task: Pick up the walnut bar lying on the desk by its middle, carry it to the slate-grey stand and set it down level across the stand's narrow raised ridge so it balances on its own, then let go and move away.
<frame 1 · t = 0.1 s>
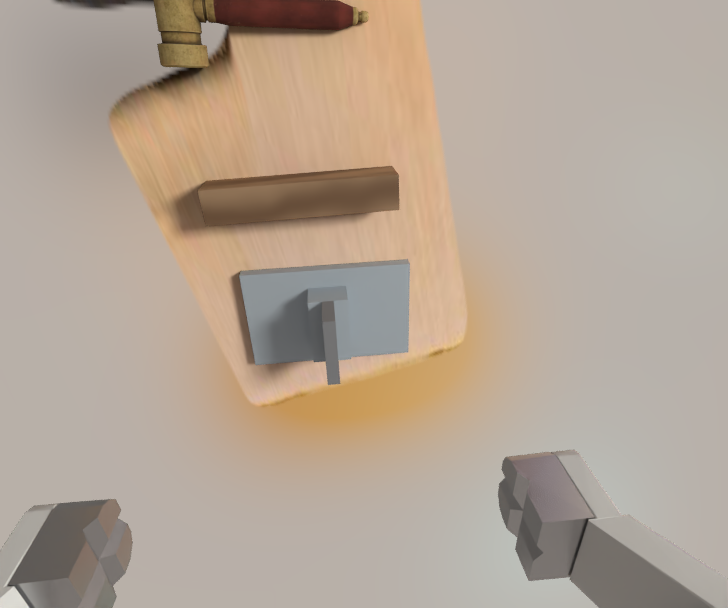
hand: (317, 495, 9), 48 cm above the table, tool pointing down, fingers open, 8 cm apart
ridge stand: (329, 311, 62), on the table
gavel: (266, 14, 46), on the table
bar: (302, 189, 54), on the table
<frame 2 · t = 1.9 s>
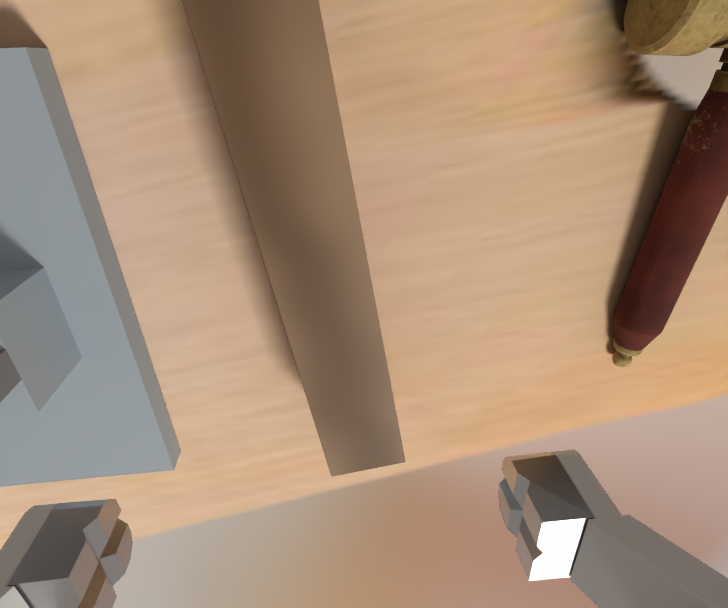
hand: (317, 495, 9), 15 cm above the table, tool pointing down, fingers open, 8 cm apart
gavel: (664, 187, 23), on the table
bar: (322, 244, 23), on the table
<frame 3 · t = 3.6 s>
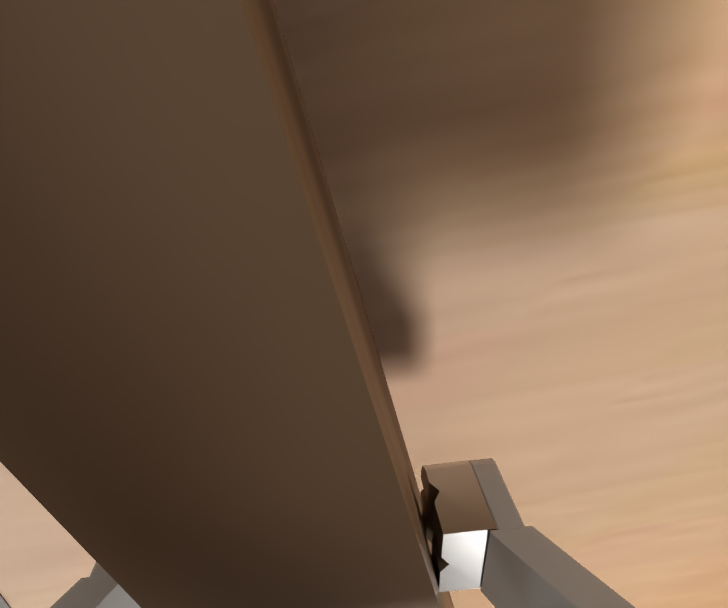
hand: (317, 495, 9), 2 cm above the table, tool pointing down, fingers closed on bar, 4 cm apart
bar: (316, 419, 11), on the table, touching gripper
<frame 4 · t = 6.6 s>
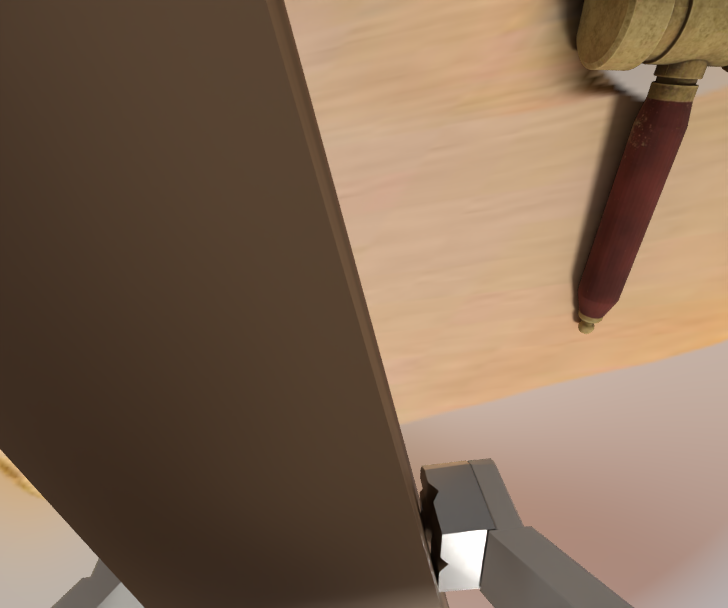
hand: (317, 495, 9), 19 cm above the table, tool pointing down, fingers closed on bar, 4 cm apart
gavel: (617, 178, 28), on the table
bar: (317, 420, 11), point 17 cm above the table, touching gripper
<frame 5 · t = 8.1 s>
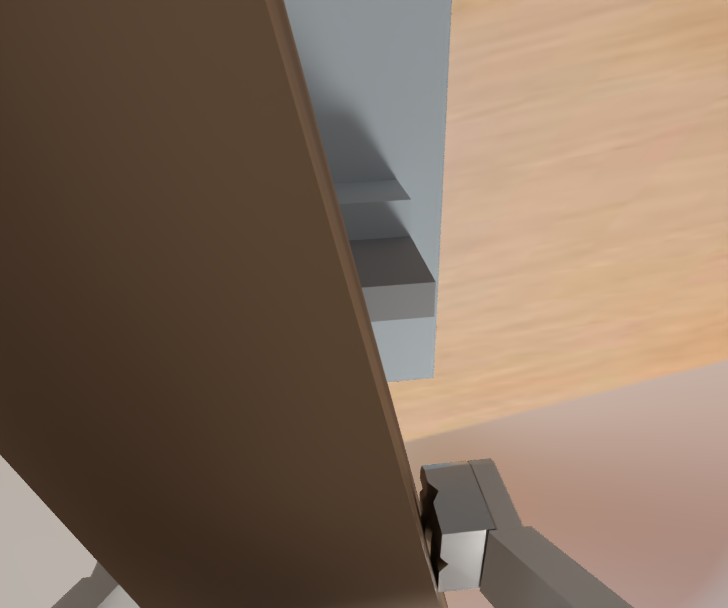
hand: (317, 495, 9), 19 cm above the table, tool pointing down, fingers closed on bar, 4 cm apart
ridge stand: (316, 221, 26), on the table
bar: (316, 420, 11), point 16 cm above the table, touching gripper
when the fingers open (14 cm above the table, at t = 9.5 s): bar stays where it is, resting on ridge stand.
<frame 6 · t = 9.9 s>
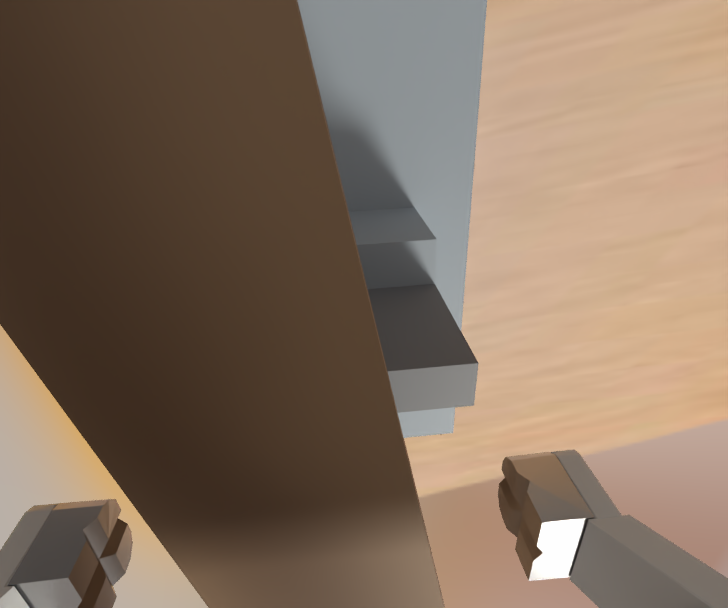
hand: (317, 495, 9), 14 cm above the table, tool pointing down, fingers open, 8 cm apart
ridge stand: (315, 255, 21), on the table
bar: (318, 397, 12), point 10 cm above the table, touching ridge stand
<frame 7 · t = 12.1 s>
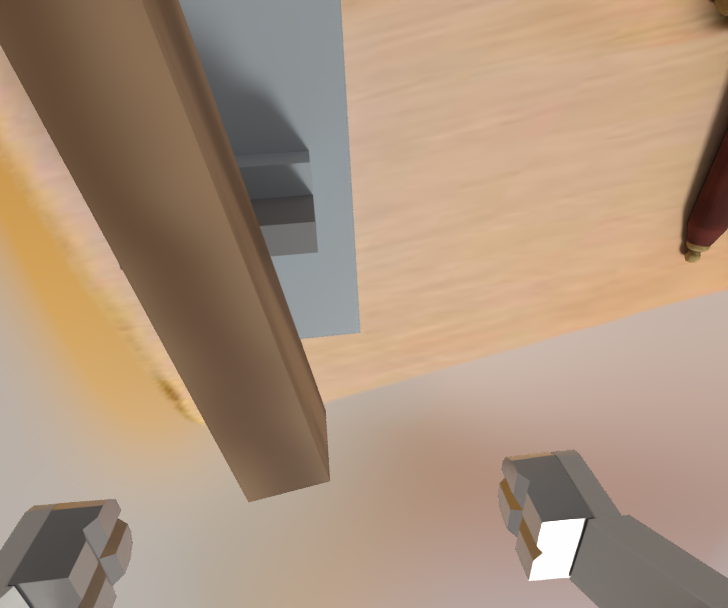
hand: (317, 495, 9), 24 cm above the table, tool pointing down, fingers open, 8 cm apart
ridge stand: (244, 190, 30), on the table
bar: (219, 244, 20), point 10 cm above the table, touching ridge stand
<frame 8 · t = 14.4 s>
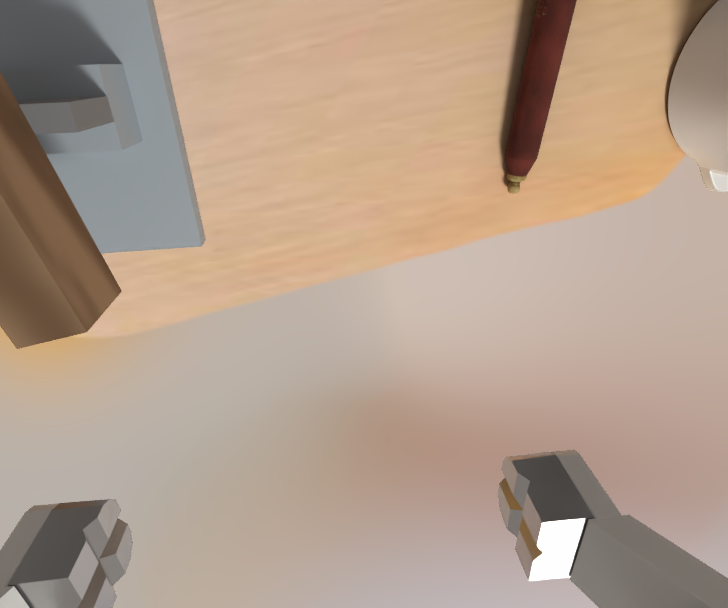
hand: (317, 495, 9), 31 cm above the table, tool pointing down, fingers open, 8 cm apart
ridge stand: (77, 105, 33), on the table
gavel: (533, 55, 35), on the table
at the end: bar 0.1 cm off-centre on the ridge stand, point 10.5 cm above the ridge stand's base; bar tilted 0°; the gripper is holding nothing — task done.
